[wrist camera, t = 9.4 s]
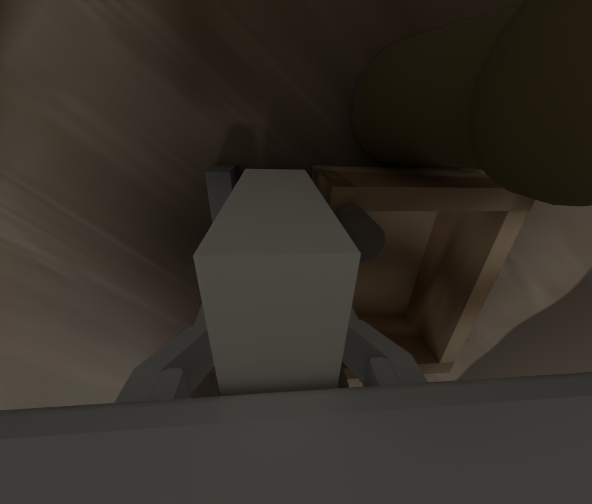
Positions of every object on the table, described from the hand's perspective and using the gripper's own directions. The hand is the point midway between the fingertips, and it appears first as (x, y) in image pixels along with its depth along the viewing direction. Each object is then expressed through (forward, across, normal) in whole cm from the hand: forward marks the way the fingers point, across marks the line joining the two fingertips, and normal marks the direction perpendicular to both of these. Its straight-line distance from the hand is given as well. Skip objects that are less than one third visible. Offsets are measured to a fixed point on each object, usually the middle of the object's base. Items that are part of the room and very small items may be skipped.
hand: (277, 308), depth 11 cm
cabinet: (+7, +4, -1) cm, 8 cm away
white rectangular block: (+5, 0, 0) cm, 5 cm away
